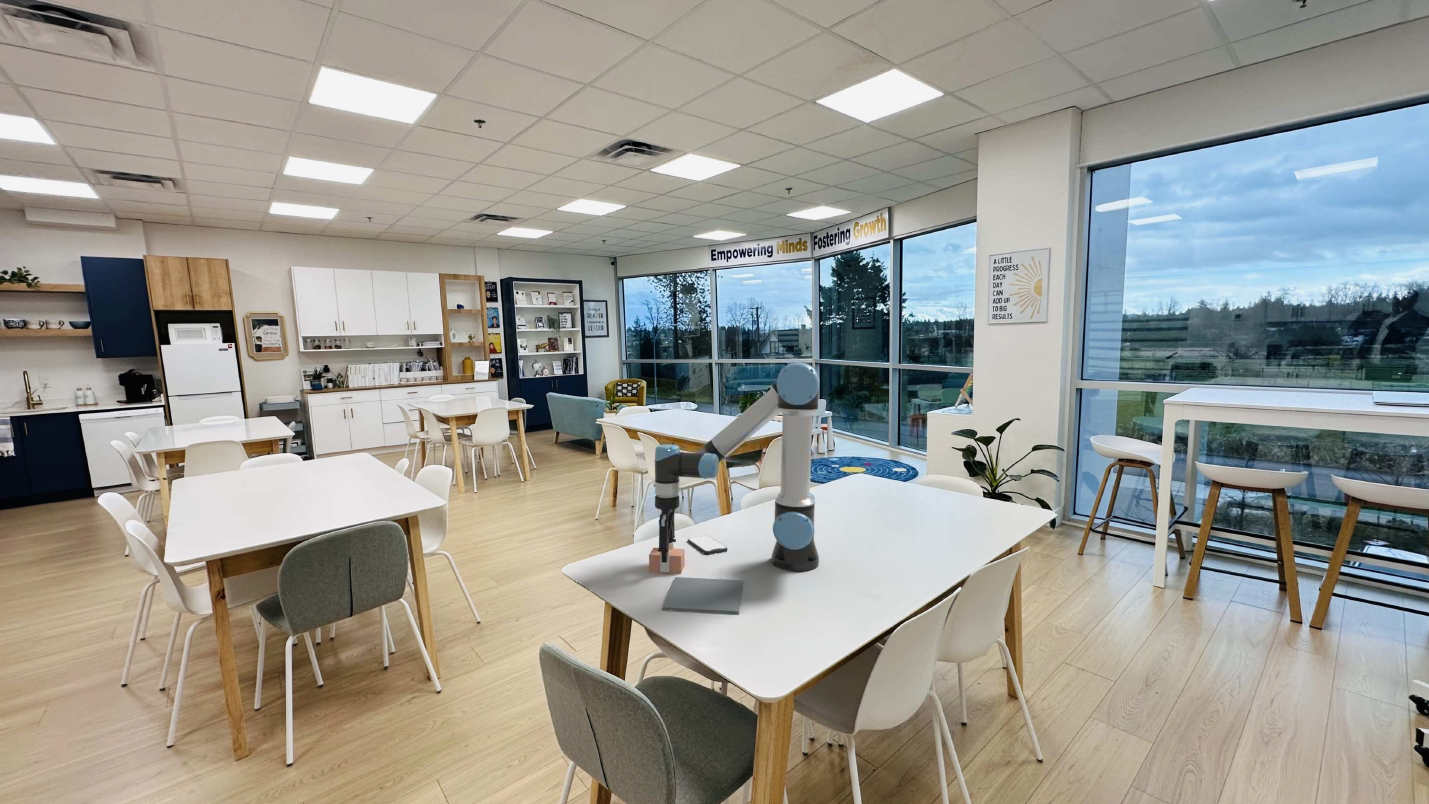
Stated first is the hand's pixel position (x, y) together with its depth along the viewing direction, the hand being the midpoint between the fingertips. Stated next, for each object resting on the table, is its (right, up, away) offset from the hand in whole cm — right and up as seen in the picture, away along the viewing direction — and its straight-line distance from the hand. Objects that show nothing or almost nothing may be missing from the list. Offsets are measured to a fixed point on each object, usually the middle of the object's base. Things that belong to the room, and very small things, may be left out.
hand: (667, 567), depth 174 cm
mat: (+12, -2, -19) cm, 23 cm away
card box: (0, -1, 0) cm, 1 cm away
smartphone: (+12, +1, +21) cm, 24 cm away
